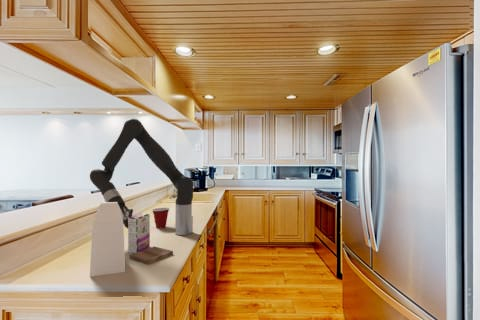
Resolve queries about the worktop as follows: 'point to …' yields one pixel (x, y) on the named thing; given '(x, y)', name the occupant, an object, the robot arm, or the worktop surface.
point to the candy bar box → (138, 233)
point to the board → (150, 255)
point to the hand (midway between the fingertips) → (129, 227)
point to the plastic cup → (160, 217)
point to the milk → (107, 241)
